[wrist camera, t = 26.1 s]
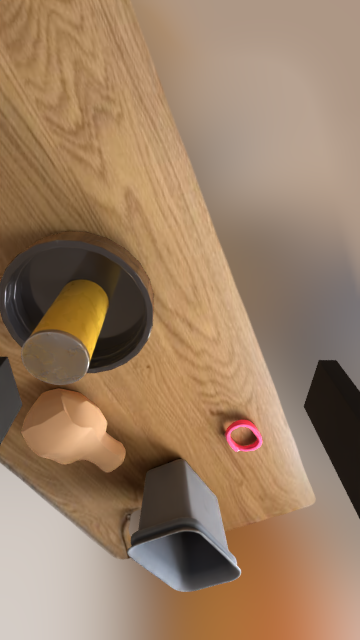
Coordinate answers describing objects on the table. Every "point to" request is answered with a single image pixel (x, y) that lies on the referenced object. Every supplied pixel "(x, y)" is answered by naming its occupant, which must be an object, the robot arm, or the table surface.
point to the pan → (75, 264)
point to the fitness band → (243, 424)
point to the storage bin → (182, 531)
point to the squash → (71, 430)
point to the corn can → (67, 334)
